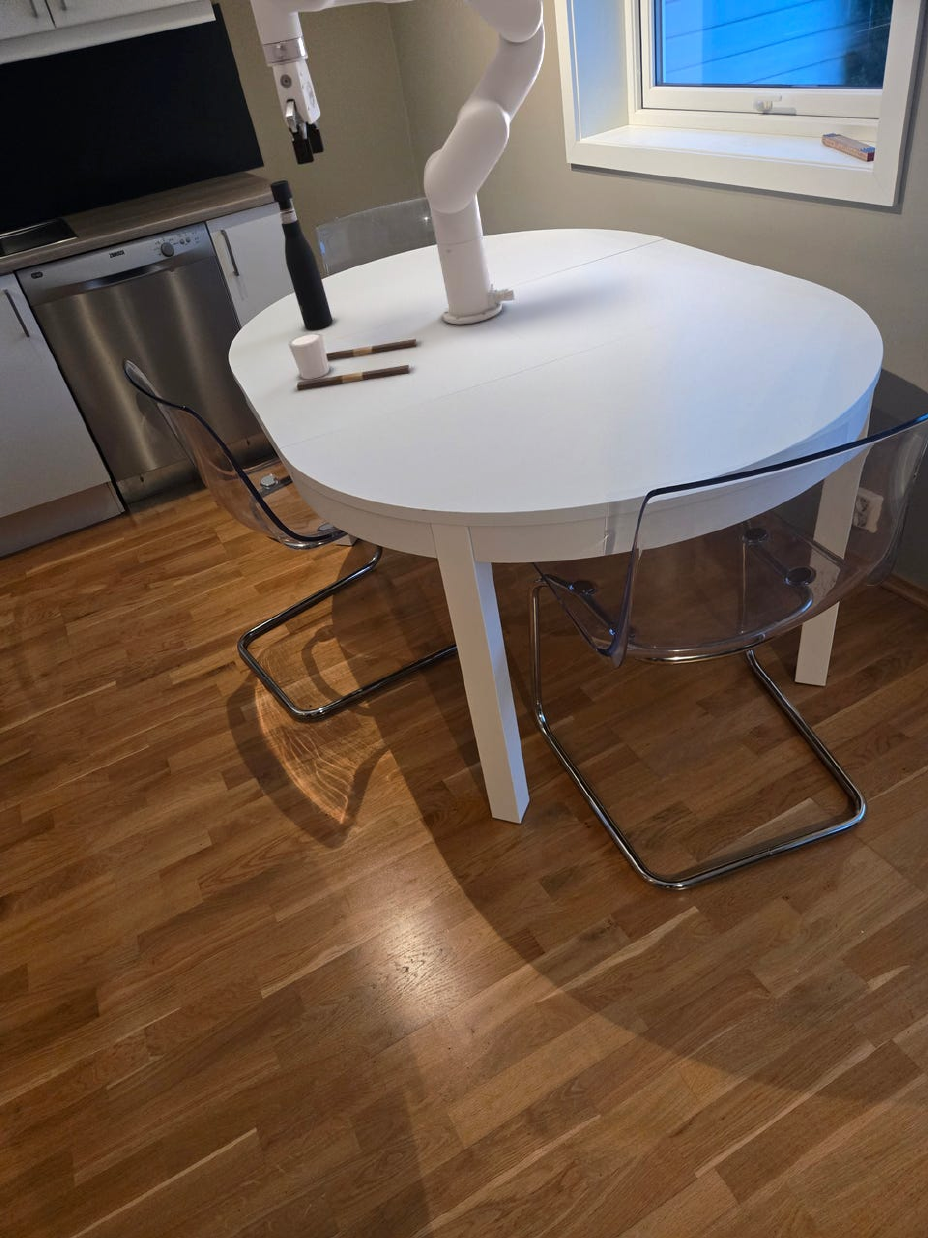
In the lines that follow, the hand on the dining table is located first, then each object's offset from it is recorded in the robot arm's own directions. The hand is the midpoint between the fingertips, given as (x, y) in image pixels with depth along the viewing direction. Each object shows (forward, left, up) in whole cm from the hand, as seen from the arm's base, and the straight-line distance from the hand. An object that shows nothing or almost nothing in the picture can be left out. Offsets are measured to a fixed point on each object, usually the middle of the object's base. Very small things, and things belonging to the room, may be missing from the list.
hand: (311, 157), depth 167 cm
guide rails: (-3, +18, -35) cm, 39 cm away
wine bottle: (+11, -12, -35) cm, 39 cm away
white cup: (+6, +18, -35) cm, 40 cm away
